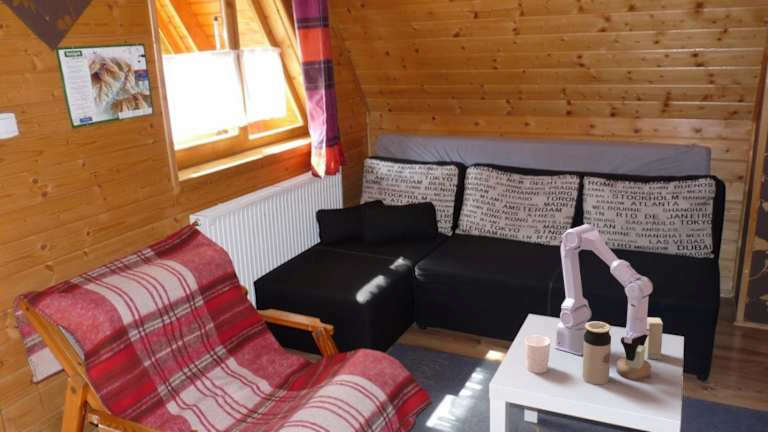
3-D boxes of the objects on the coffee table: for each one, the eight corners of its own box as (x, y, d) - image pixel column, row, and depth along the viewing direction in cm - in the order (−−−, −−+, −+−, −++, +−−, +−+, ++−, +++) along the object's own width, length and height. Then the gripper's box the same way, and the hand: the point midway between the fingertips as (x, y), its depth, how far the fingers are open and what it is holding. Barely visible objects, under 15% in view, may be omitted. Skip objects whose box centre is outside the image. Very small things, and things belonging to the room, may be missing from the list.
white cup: (552, 365, 211) (552, 337, 208) (545, 376, 204) (546, 348, 201) (528, 360, 214) (528, 333, 212) (521, 371, 208) (522, 343, 205)
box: (661, 359, 211) (663, 323, 208) (646, 358, 212) (649, 323, 209) (657, 352, 216) (660, 317, 213) (643, 351, 217) (646, 316, 214)
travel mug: (576, 376, 203) (578, 324, 199) (596, 370, 206) (598, 318, 202) (594, 387, 196) (597, 333, 192) (614, 381, 199) (617, 328, 195)
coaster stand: (612, 374, 203) (612, 366, 202) (623, 362, 211) (624, 354, 210) (644, 384, 197) (644, 375, 196) (654, 370, 204) (655, 362, 204)
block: (624, 365, 203) (625, 348, 201) (629, 359, 206) (630, 342, 204) (639, 369, 200) (640, 351, 198) (643, 363, 203) (645, 346, 202)
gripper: (642, 327, 191) (639, 368, 194) (658, 310, 201) (655, 350, 205) (618, 321, 195) (616, 361, 199) (635, 305, 206) (632, 344, 209)
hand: (634, 355), depth 202 cm, fingers open, 7 cm apart
